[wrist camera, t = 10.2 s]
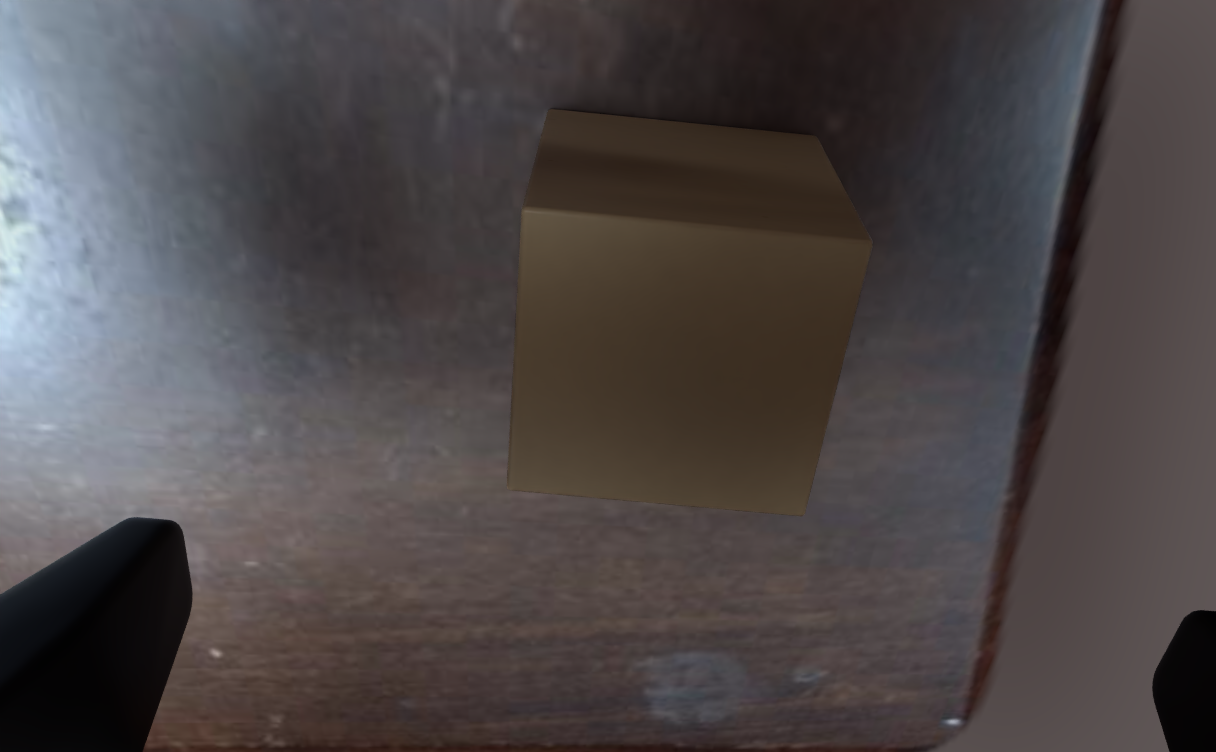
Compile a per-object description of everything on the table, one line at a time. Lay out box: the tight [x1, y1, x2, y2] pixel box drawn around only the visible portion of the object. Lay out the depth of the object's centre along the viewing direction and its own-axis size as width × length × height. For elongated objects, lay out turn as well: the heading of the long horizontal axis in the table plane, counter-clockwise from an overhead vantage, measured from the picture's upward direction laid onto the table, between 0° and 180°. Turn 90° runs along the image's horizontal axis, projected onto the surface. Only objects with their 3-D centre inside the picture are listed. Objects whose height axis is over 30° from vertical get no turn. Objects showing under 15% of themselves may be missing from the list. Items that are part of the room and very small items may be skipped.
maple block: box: [507, 109, 873, 516], centre depth 14 cm, size 4×4×4 cm
